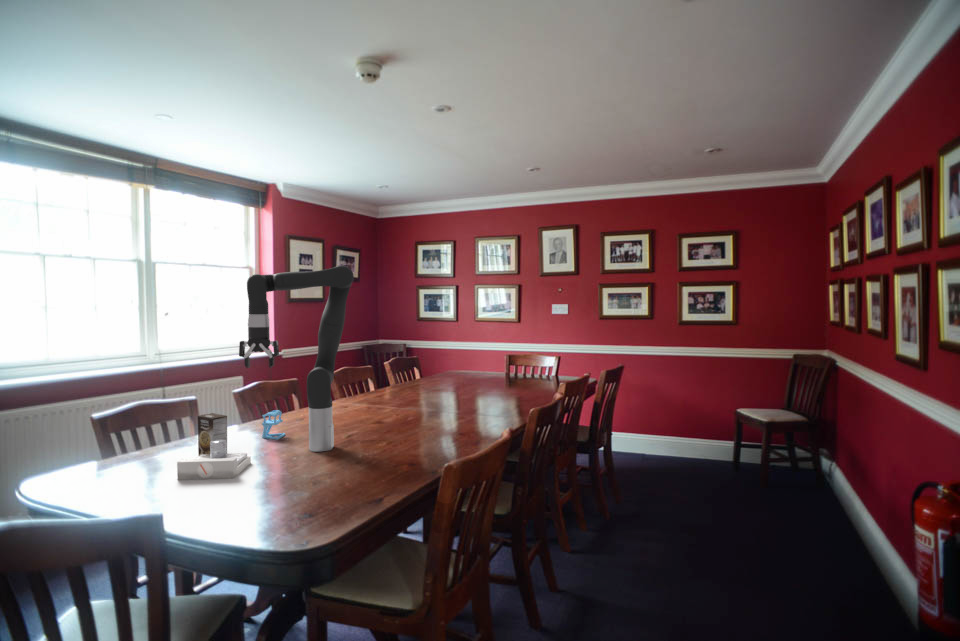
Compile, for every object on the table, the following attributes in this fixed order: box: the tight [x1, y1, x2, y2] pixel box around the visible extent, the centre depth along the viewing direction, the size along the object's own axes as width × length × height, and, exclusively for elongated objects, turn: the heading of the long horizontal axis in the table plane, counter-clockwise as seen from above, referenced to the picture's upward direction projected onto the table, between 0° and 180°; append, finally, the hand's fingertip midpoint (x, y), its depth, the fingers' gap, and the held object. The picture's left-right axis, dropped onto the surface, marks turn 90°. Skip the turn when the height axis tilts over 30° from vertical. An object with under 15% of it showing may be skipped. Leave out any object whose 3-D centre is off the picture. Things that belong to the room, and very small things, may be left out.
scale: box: [176, 455, 252, 481], centre depth 175 cm, size 18×16×6 cm
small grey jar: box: [210, 440, 226, 459], centre depth 177 cm, size 5×5×6 cm
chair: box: [261, 409, 286, 441], centre depth 220 cm, size 8×8×12 cm
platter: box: [194, 452, 248, 465], centre depth 177 cm, size 16×11×1 cm
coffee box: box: [197, 412, 228, 457], centre depth 191 cm, size 9×6×16 cm
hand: (259, 367), depth 194 cm, fingers open, 8 cm apart
